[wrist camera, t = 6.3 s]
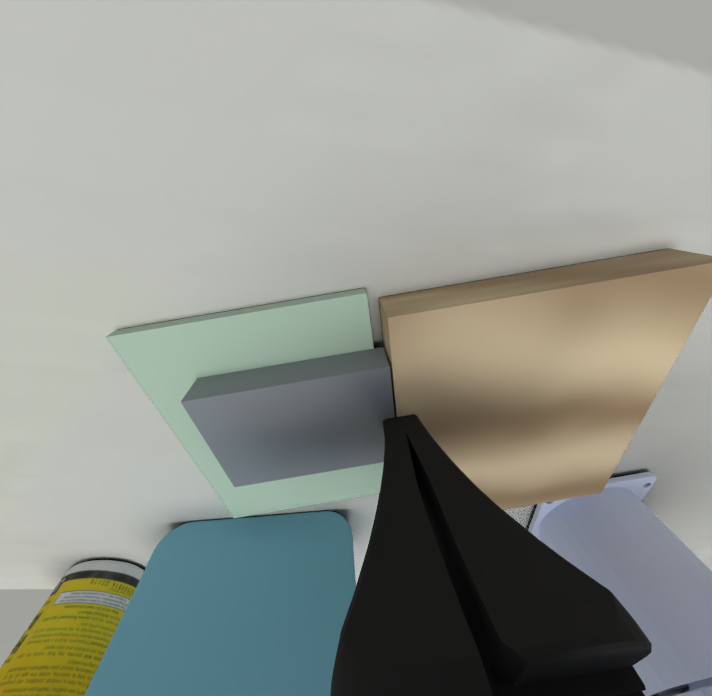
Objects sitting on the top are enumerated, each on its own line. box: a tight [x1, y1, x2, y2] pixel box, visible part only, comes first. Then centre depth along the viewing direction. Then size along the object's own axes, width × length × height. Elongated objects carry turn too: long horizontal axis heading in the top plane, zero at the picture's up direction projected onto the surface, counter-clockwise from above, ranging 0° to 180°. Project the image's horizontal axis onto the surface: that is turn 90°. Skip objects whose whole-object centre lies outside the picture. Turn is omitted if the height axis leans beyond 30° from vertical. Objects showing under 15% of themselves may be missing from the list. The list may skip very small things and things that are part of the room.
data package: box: [84, 511, 356, 696], centre depth 14 cm, size 12×4×12 cm, turn 89°
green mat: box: [106, 288, 384, 518], centre depth 14 cm, size 13×10×1 cm
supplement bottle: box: [0, 560, 144, 696], centre depth 16 cm, size 5×5×10 cm
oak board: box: [379, 249, 712, 510], centre depth 14 cm, size 14×12×2 cm
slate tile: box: [181, 347, 395, 487], centre depth 12 cm, size 6×8×2 cm
